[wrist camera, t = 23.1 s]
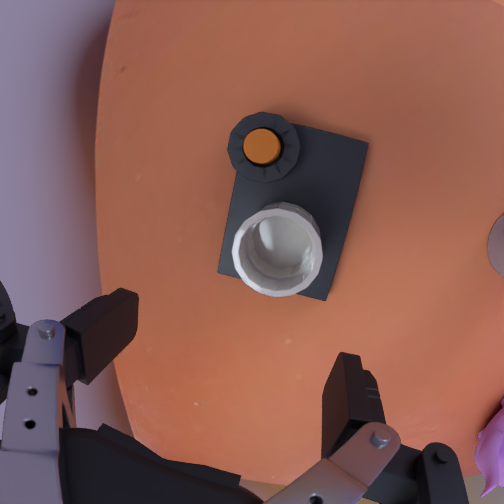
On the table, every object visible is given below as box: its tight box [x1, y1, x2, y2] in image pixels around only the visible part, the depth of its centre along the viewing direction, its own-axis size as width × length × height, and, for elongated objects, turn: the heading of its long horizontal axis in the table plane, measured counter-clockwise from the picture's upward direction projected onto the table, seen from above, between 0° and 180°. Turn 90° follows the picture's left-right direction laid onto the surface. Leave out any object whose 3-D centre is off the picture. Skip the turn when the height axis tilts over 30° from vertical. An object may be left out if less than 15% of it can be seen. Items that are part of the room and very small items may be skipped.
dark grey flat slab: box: [217, 112, 369, 301], centre depth 25 cm, size 11×14×3 cm
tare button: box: [243, 129, 281, 164], centre depth 22 cm, size 3×3×2 cm
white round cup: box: [232, 202, 323, 297], centre depth 23 cm, size 6×6×5 cm
